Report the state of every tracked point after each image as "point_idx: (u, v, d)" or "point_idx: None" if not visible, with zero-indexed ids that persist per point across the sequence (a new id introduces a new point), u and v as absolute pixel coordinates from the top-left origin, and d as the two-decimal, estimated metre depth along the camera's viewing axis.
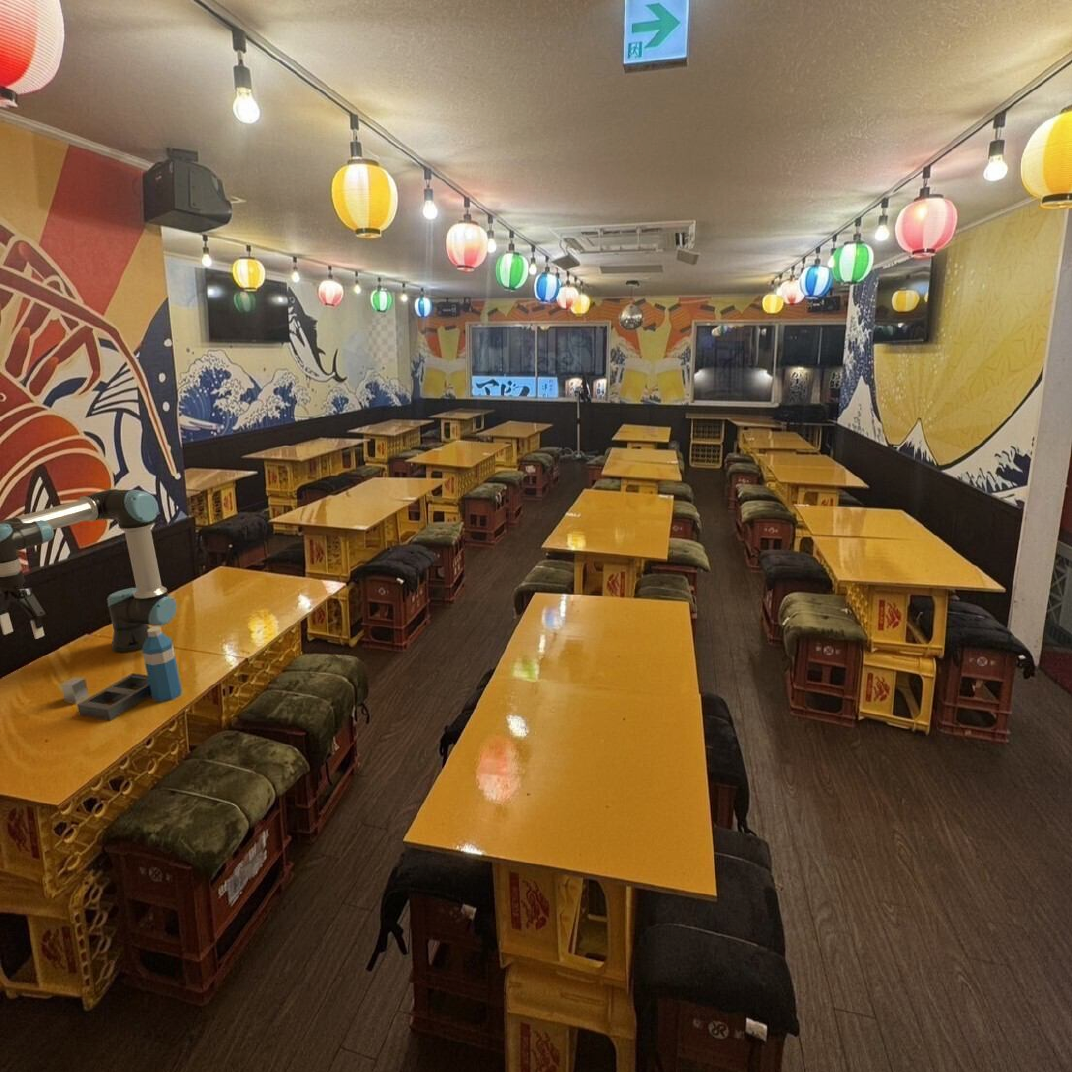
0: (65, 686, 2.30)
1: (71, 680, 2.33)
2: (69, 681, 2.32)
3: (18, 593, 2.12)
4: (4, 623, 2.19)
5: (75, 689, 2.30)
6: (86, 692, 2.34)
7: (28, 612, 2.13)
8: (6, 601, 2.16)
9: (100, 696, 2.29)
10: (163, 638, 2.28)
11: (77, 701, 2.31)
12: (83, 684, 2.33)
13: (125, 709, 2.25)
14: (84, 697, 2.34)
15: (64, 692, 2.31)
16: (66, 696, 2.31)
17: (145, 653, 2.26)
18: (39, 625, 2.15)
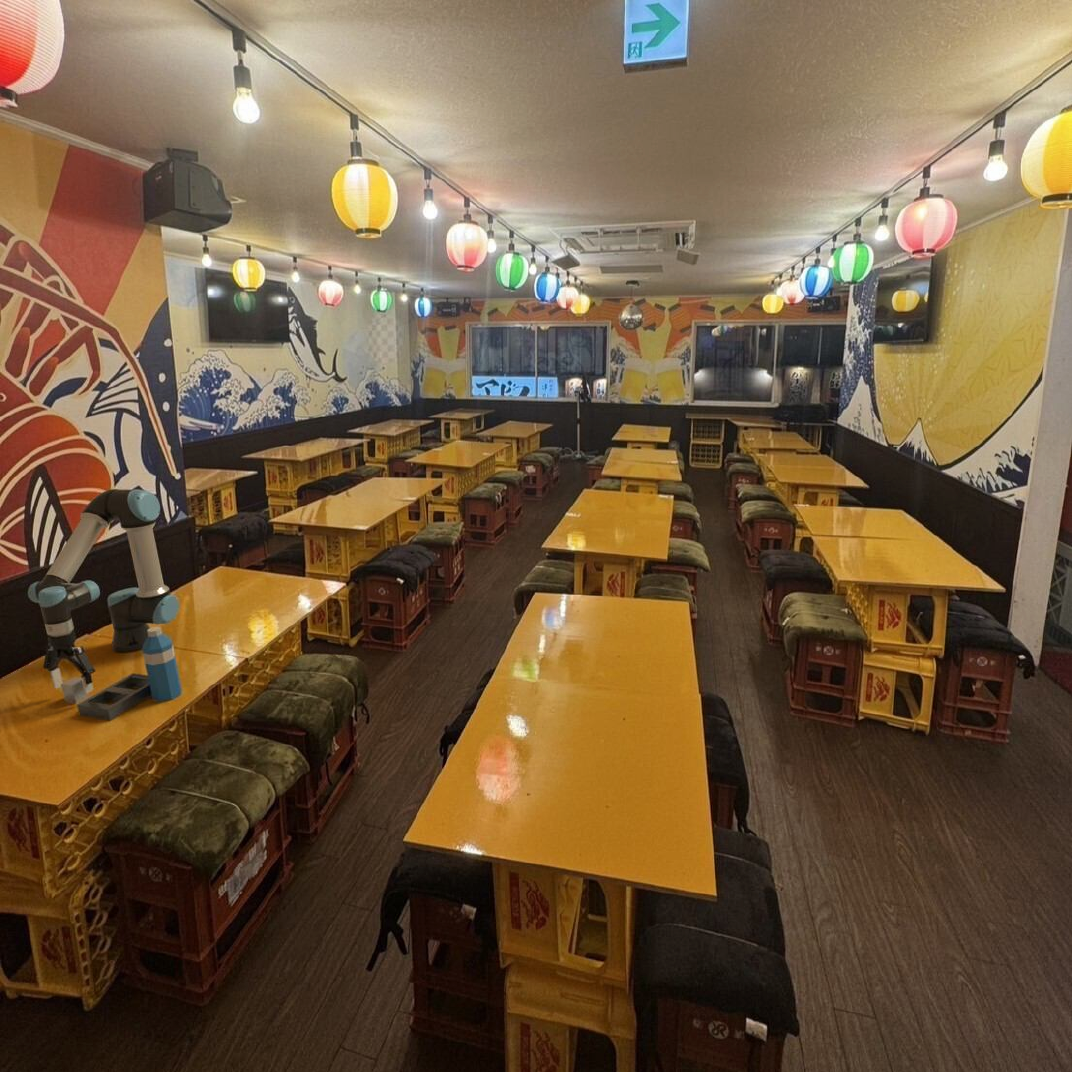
0: (65, 686, 2.30)
1: (71, 679, 2.33)
2: (69, 681, 2.32)
3: (70, 651, 2.26)
4: (55, 678, 2.33)
5: (75, 689, 2.30)
6: None
7: (79, 669, 2.27)
8: (58, 658, 2.30)
9: (100, 696, 2.29)
10: (163, 638, 2.28)
11: (77, 701, 2.31)
12: None
13: (125, 709, 2.25)
14: (84, 697, 2.34)
15: (64, 692, 2.31)
16: (66, 696, 2.31)
17: (145, 653, 2.26)
18: (89, 681, 2.29)
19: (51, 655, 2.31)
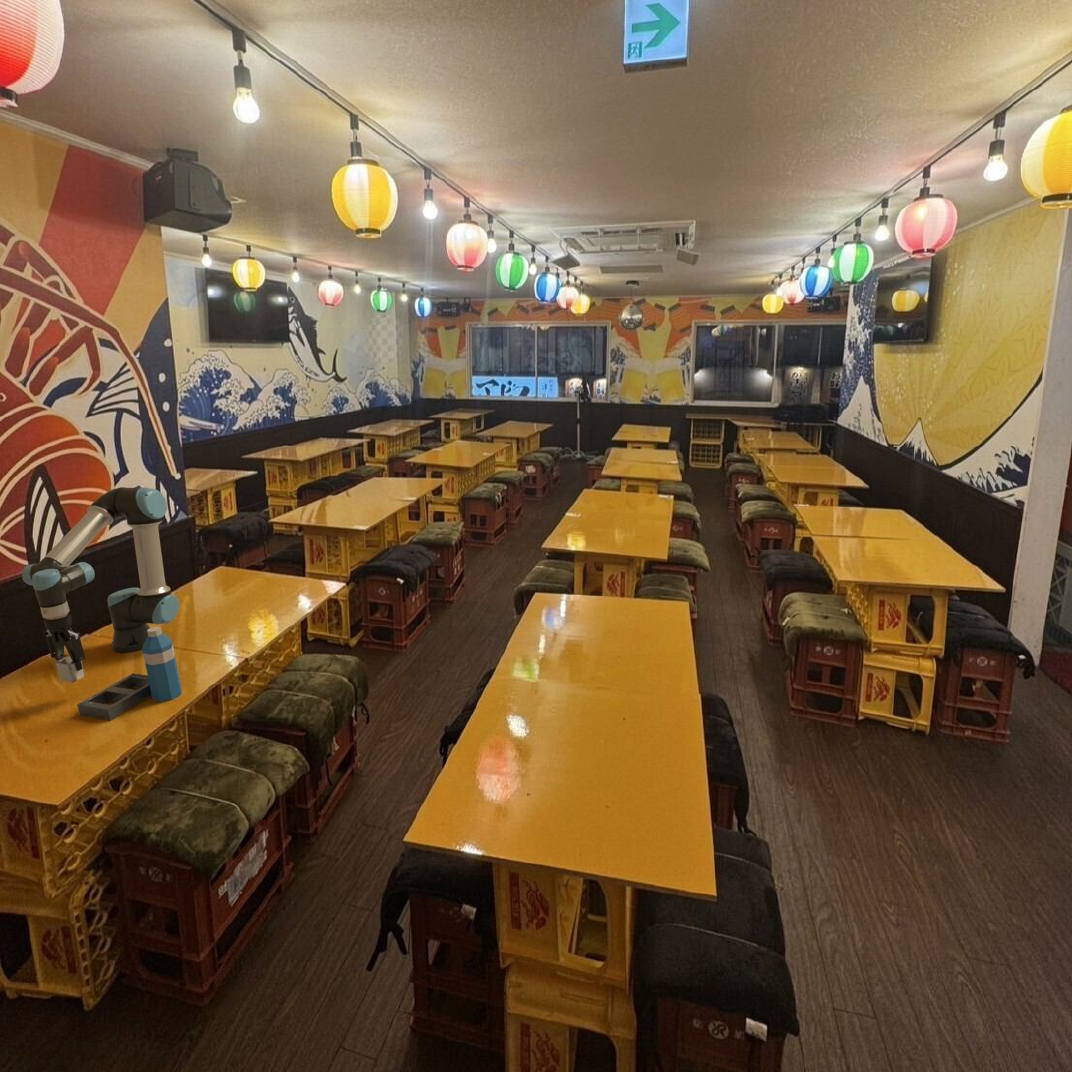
0: (60, 665, 2.28)
1: (67, 659, 2.31)
2: (64, 660, 2.30)
3: (67, 635, 2.25)
4: None
5: (71, 668, 2.28)
6: None
7: (71, 655, 2.27)
8: (59, 643, 2.28)
9: (100, 696, 2.29)
10: (163, 638, 2.28)
11: (73, 680, 2.29)
12: None
13: (125, 709, 2.25)
14: None
15: (60, 671, 2.29)
16: (62, 675, 2.29)
17: (145, 653, 2.26)
18: (79, 667, 2.29)
19: (53, 642, 2.30)
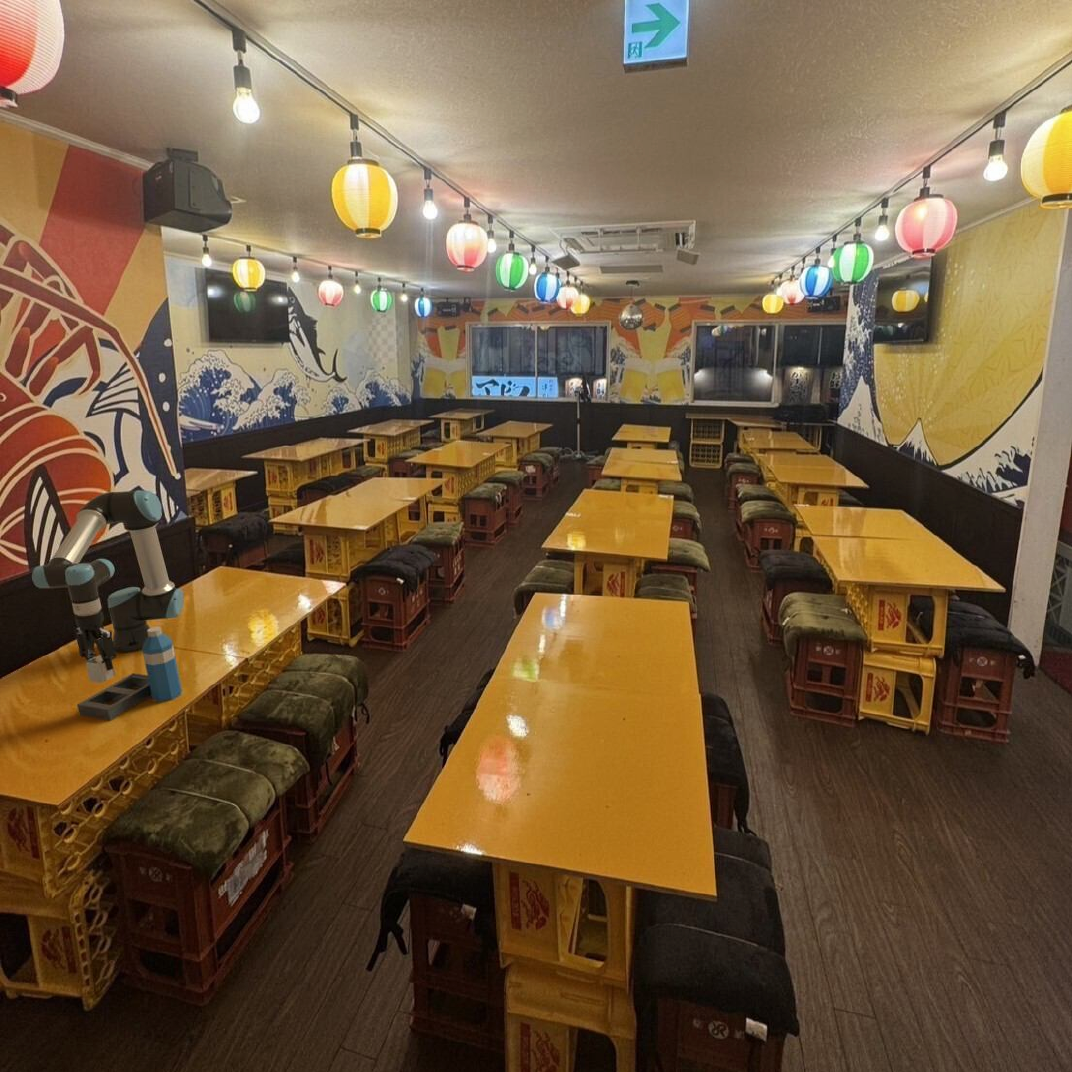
0: (90, 664, 2.20)
1: (97, 658, 2.23)
2: (94, 659, 2.22)
3: (98, 632, 2.17)
4: None
5: (101, 667, 2.20)
6: None
7: (102, 654, 2.19)
8: (90, 641, 2.20)
9: (100, 696, 2.29)
10: (163, 638, 2.28)
11: (102, 680, 2.21)
12: None
13: (125, 709, 2.25)
14: None
15: (89, 671, 2.21)
16: (91, 674, 2.21)
17: (145, 653, 2.26)
18: (110, 667, 2.21)
19: (84, 640, 2.22)
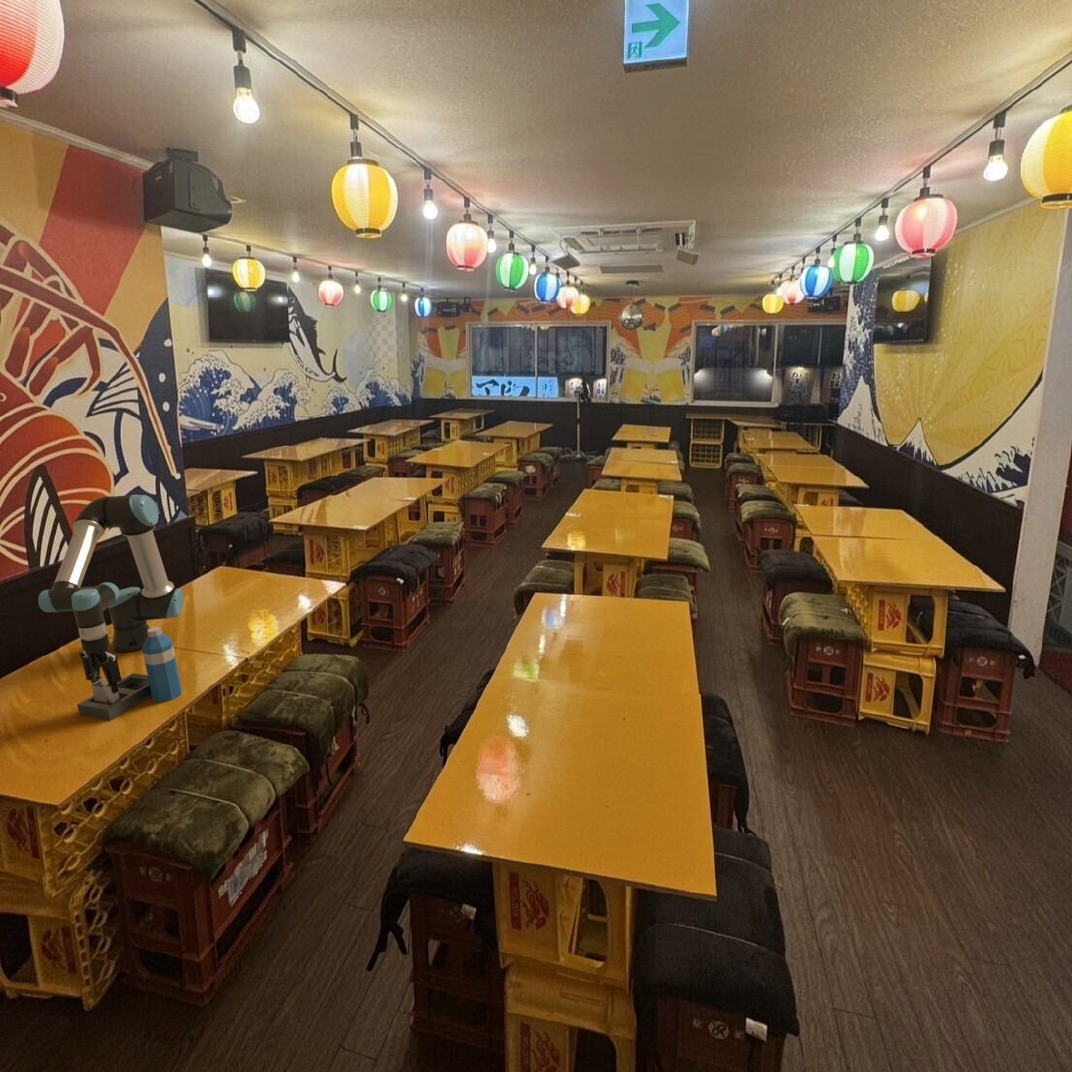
0: (96, 687, 2.22)
1: (102, 681, 2.25)
2: (100, 682, 2.24)
3: (104, 656, 2.20)
4: None
5: (106, 690, 2.23)
6: None
7: (107, 677, 2.22)
8: (95, 664, 2.23)
9: None
10: (163, 638, 2.28)
11: (108, 703, 2.23)
12: None
13: (125, 709, 2.25)
14: None
15: (95, 694, 2.23)
16: (97, 697, 2.23)
17: (145, 653, 2.26)
18: (115, 690, 2.24)
19: None
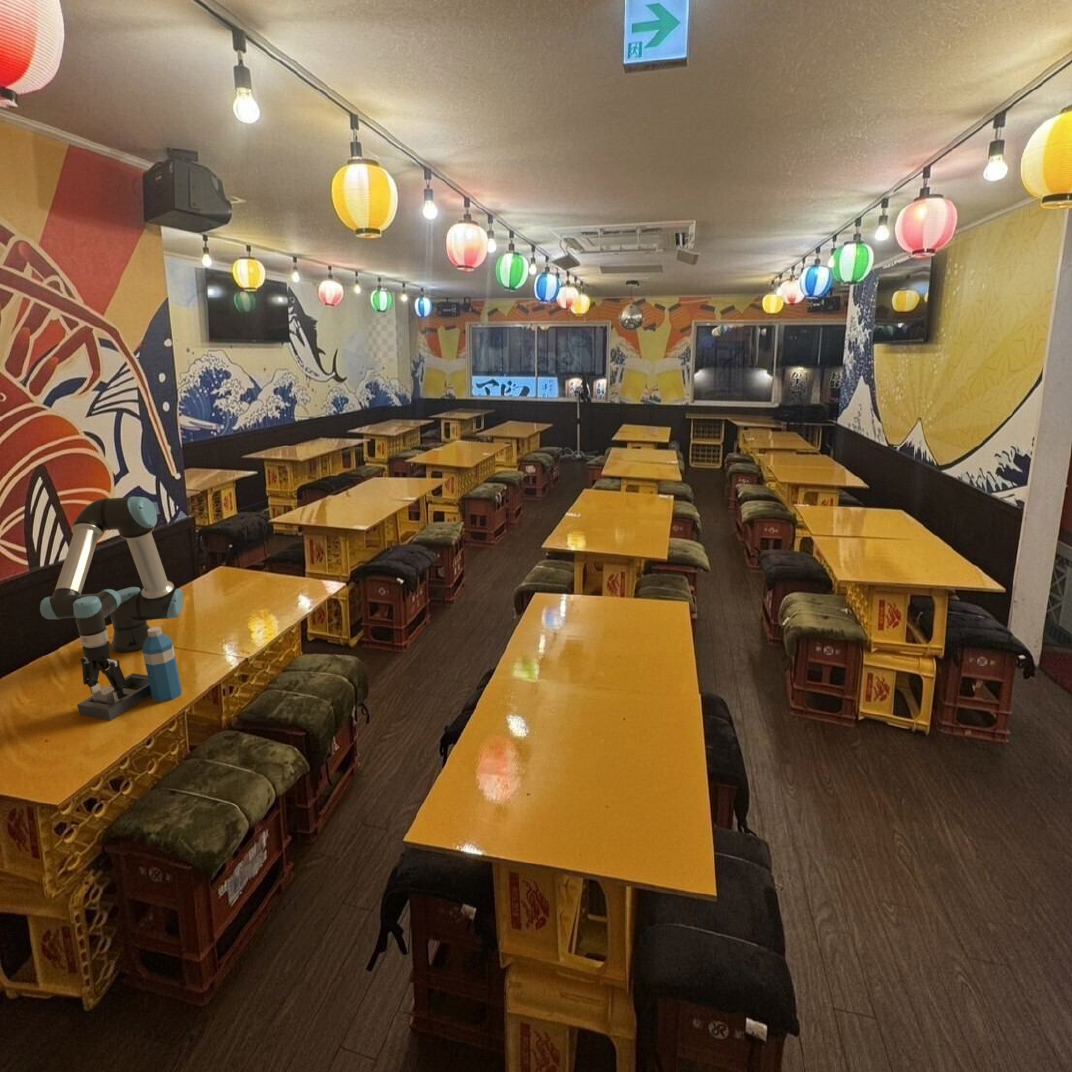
0: (98, 696, 2.23)
1: (104, 689, 2.26)
2: (102, 690, 2.25)
3: (106, 663, 2.20)
4: None
5: (108, 699, 2.24)
6: None
7: (112, 683, 2.22)
8: (95, 671, 2.24)
9: None
10: (163, 638, 2.28)
11: None
12: None
13: (125, 709, 2.25)
14: None
15: (97, 702, 2.24)
16: None
17: (145, 653, 2.26)
18: (121, 696, 2.24)
19: (89, 669, 2.25)
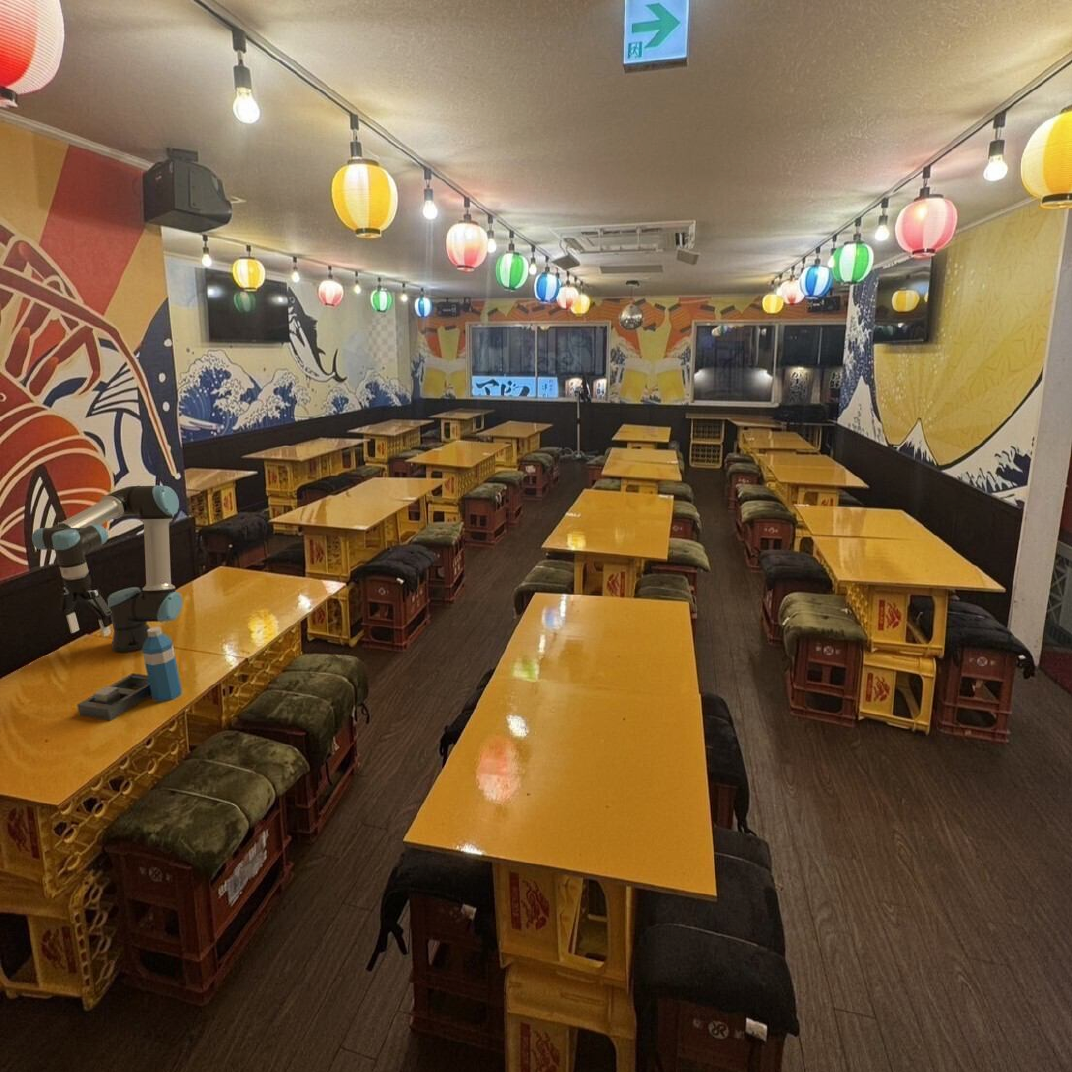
0: (98, 696, 2.23)
1: (104, 689, 2.26)
2: (102, 690, 2.25)
3: (87, 594, 2.26)
4: (71, 622, 2.32)
5: (108, 699, 2.24)
6: None
7: (96, 612, 2.27)
8: (74, 602, 2.29)
9: None
10: (163, 638, 2.28)
11: None
12: (116, 693, 2.26)
13: (125, 709, 2.25)
14: None
15: (97, 702, 2.24)
16: None
17: (145, 653, 2.26)
18: (107, 624, 2.29)
19: (66, 599, 2.30)
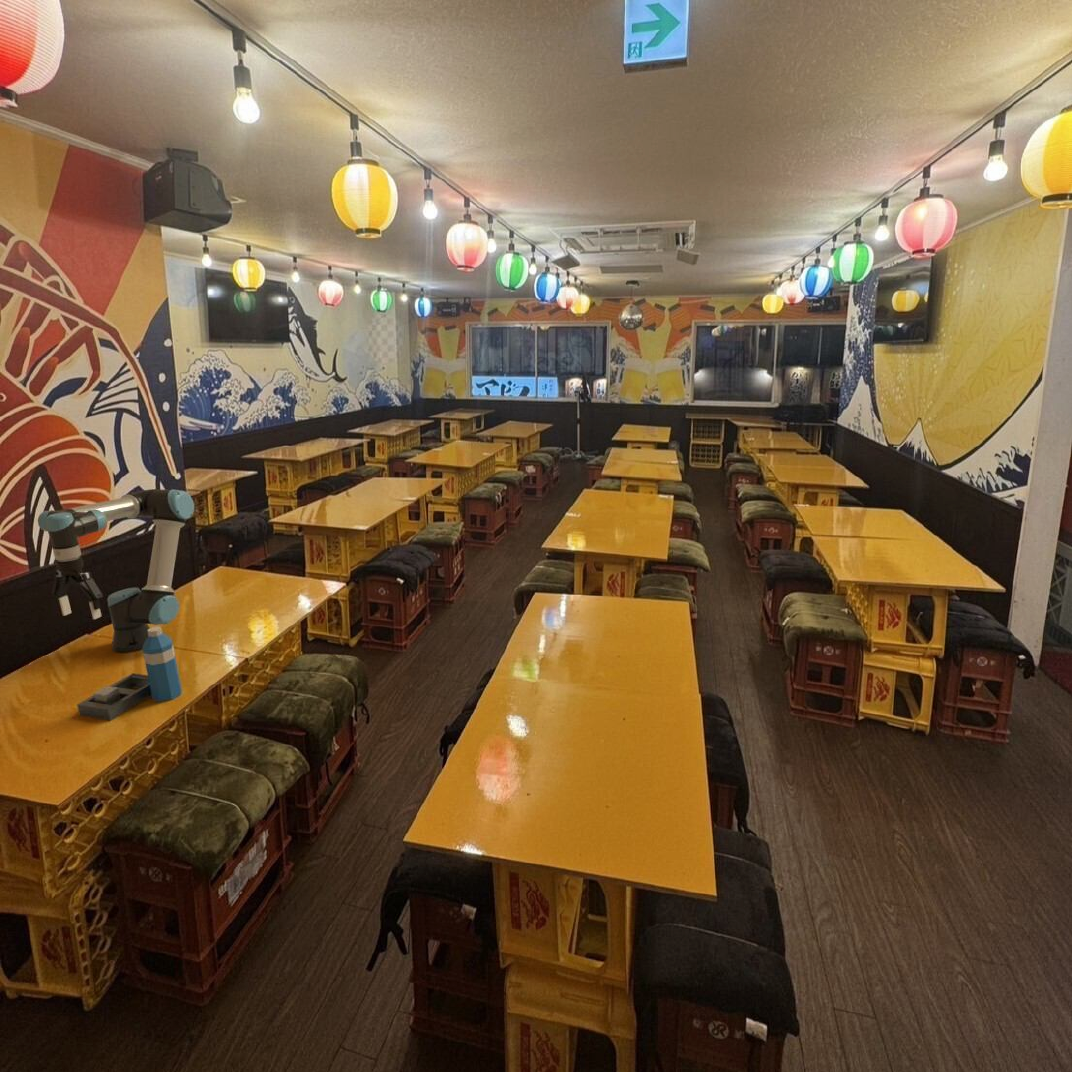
0: (98, 696, 2.23)
1: (104, 689, 2.26)
2: (102, 690, 2.25)
3: (78, 577, 2.30)
4: (63, 604, 2.36)
5: (108, 699, 2.24)
6: None
7: (87, 594, 2.31)
8: (66, 584, 2.33)
9: None
10: (163, 638, 2.28)
11: None
12: (116, 693, 2.26)
13: (125, 709, 2.25)
14: None
15: (97, 702, 2.24)
16: None
17: (145, 653, 2.26)
18: (97, 606, 2.32)
19: (59, 582, 2.35)
